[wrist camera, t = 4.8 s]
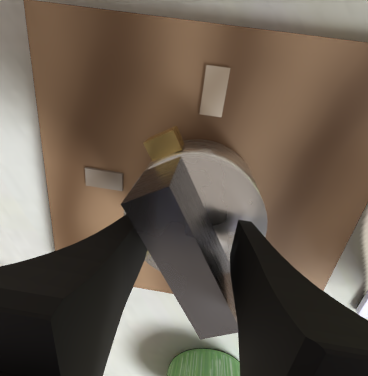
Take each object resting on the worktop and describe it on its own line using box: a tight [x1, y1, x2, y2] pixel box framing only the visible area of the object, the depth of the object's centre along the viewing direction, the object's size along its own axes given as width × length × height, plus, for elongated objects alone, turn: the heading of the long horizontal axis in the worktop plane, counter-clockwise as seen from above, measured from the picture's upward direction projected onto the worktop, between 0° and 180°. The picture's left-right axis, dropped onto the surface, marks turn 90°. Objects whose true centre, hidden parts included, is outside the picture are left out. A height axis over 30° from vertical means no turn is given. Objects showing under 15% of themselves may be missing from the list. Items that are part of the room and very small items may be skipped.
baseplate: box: [24, 0, 368, 294], centre depth 16 cm, size 20×18×2 cm
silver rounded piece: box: [121, 126, 268, 339], centre depth 12 cm, size 8×7×7 cm
